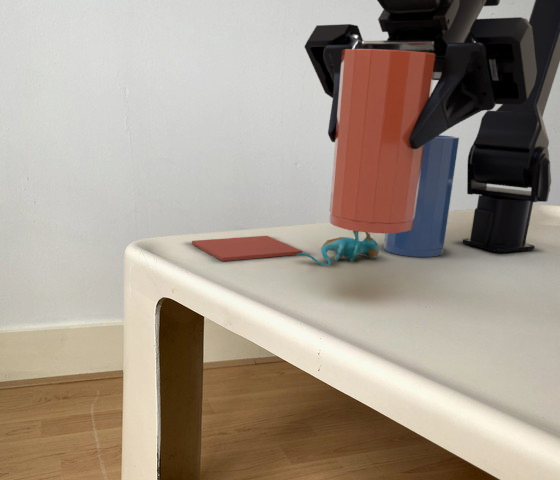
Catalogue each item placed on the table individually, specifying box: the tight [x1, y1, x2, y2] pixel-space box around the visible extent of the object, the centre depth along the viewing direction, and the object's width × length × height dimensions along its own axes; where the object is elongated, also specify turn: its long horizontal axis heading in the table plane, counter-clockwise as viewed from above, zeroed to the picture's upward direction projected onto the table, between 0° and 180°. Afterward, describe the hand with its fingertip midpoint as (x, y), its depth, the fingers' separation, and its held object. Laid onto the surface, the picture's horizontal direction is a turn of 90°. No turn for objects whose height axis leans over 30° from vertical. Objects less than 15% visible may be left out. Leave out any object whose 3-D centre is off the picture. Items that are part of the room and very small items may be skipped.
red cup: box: [329, 49, 437, 234], centre depth 51 cm, size 7×7×13 cm
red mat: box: [191, 235, 304, 262], centre depth 73 cm, size 10×9×1 cm
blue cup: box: [383, 134, 460, 258], centre depth 73 cm, size 7×7×13 cm
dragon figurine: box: [296, 231, 380, 266], centre depth 70 cm, size 6×7×8 cm
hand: (370, 141), depth 49 cm, fingers closed on red cup, 7 cm apart
